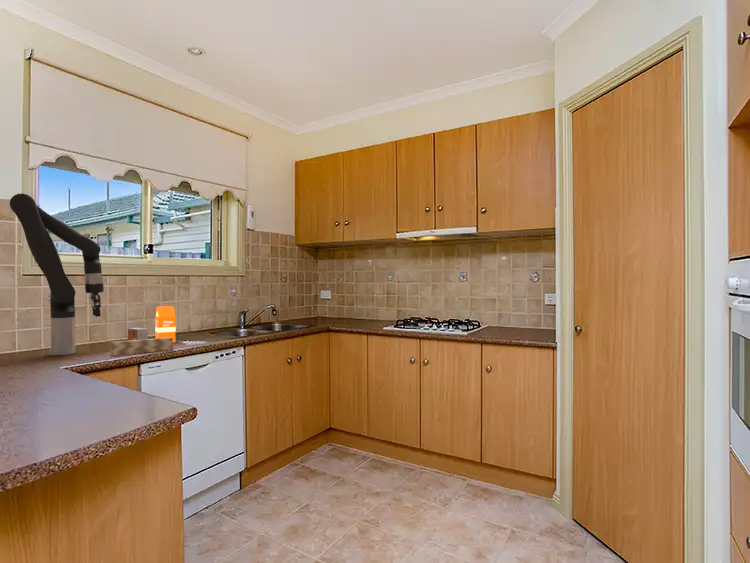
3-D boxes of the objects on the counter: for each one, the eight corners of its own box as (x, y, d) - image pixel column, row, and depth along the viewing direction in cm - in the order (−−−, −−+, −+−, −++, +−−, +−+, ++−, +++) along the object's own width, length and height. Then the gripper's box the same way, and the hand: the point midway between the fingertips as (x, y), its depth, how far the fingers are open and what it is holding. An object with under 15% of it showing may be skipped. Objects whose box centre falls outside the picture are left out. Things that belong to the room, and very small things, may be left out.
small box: (127, 349, 213) (127, 328, 213) (138, 347, 218) (138, 327, 218) (137, 350, 209) (137, 329, 209) (147, 349, 214) (147, 328, 214)
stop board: (111, 355, 194) (111, 342, 194) (110, 354, 197) (110, 342, 197) (172, 350, 211) (172, 337, 211) (171, 349, 213) (171, 337, 213)
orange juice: (155, 341, 238) (155, 306, 238) (172, 340, 244) (172, 305, 244) (158, 343, 232) (158, 307, 232) (175, 342, 238) (175, 306, 238)
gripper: (83, 283, 210) (86, 315, 211) (86, 283, 199) (89, 317, 200) (101, 282, 215) (103, 314, 215) (105, 282, 204) (107, 315, 204)
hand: (96, 315), depth 207 cm, fingers open, 8 cm apart
